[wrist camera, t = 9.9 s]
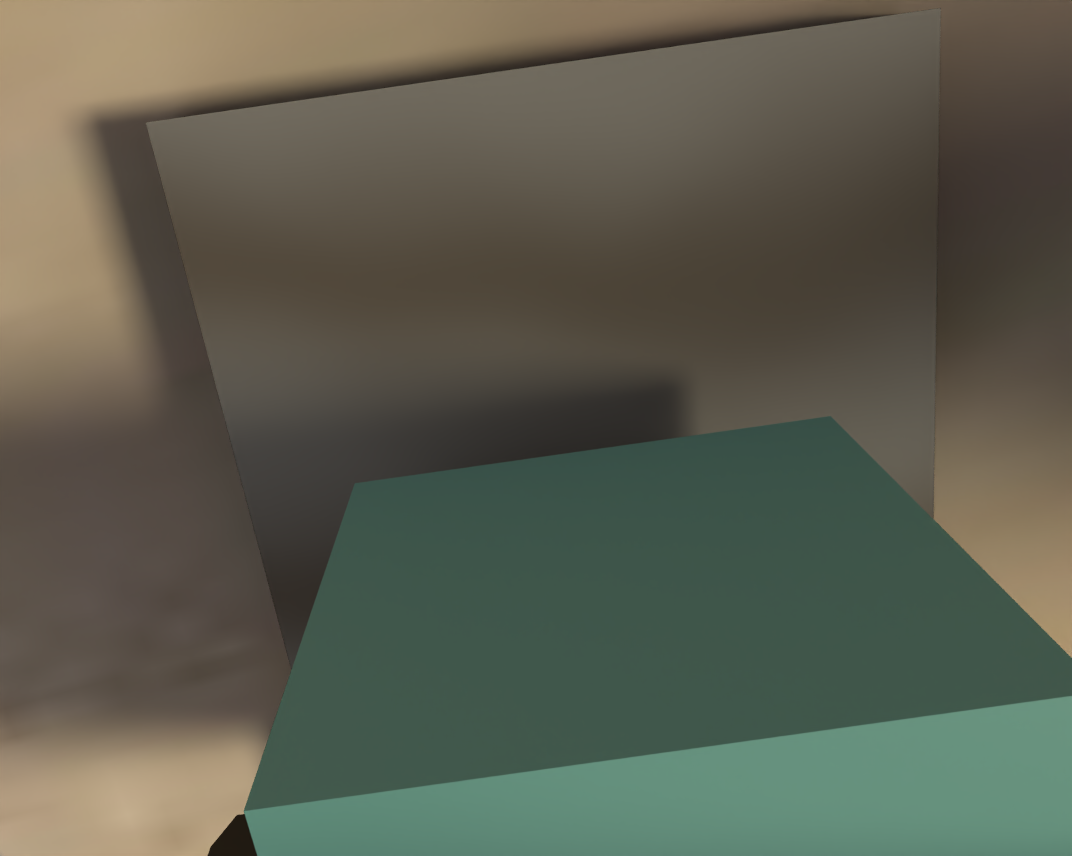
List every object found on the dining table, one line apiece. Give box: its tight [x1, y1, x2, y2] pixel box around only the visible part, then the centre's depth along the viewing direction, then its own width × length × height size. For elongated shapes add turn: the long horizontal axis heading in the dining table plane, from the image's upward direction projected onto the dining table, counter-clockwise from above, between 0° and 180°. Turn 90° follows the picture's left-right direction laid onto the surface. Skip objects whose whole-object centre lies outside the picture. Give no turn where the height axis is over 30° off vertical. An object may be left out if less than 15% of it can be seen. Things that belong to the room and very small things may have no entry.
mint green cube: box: [244, 416, 1072, 856], centre depth 12 cm, size 7×7×7 cm
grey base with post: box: [146, 8, 941, 670], centre depth 14 cm, size 18×12×10 cm, turn 8°
